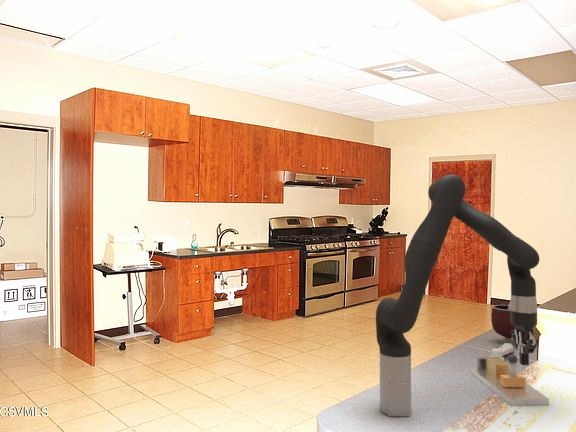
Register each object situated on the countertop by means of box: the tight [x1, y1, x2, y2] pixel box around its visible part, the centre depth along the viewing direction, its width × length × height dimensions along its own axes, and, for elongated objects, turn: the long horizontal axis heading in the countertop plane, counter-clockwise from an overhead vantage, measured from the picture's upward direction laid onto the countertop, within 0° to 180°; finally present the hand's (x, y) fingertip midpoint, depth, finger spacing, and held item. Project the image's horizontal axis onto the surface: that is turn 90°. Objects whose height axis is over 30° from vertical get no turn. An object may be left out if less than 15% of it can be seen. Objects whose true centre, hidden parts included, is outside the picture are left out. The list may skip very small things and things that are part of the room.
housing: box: [486, 358, 509, 380], centre depth 165 cm, size 8×5×5 cm, turn 0°
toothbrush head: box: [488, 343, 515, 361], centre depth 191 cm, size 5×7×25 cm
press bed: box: [470, 356, 550, 406], centre depth 159 cm, size 30×12×6 cm, turn 1°
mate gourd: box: [490, 302, 518, 350], centre depth 211 cm, size 16×14×20 cm
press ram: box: [500, 353, 527, 387], centre depth 154 cm, size 3×7×10 cm, turn 91°
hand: (524, 364), depth 147 cm, fingers closed
